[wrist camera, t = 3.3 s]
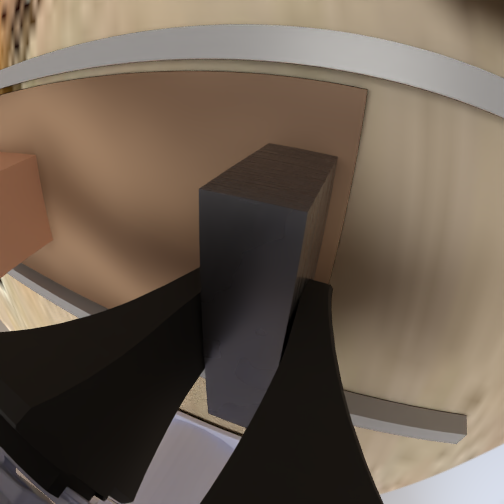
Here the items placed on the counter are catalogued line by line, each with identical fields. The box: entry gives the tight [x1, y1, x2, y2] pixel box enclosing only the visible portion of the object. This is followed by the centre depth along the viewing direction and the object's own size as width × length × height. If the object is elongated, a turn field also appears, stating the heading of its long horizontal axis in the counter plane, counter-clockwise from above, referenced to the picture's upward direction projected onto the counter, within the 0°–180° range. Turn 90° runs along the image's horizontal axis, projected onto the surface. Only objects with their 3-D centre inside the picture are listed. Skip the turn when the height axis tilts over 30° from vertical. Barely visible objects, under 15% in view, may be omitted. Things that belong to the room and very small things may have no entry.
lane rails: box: [0, 24, 504, 444], centre depth 13 cm, size 15×36×1 cm, turn 86°
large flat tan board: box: [0, 71, 368, 428], centre depth 12 cm, size 12×24×4 cm, turn 86°
